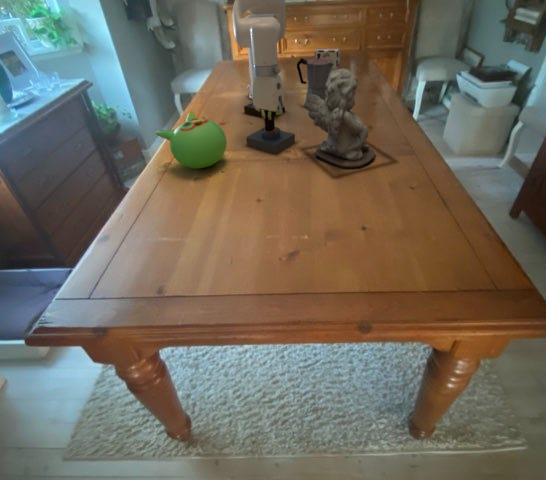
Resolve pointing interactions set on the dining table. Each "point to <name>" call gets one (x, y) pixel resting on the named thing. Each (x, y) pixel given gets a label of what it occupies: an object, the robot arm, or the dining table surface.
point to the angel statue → (340, 123)
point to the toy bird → (196, 142)
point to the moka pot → (315, 75)
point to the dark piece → (270, 140)
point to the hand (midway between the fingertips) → (270, 129)
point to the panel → (252, 111)
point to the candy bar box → (330, 57)
